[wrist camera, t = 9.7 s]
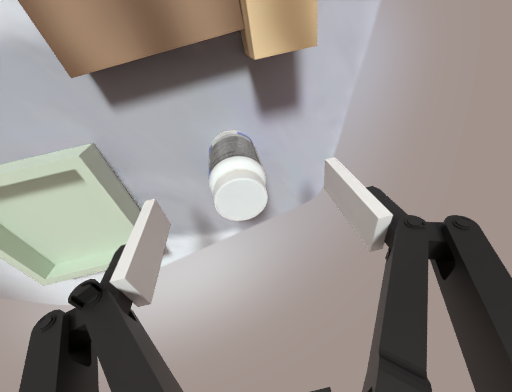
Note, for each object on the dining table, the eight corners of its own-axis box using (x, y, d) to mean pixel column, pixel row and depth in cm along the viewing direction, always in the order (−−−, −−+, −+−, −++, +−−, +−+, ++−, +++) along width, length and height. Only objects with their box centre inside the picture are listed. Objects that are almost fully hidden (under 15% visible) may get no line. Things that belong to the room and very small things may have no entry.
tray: (56, 267, 27) (43, 285, 25) (-63, 179, 19) (-97, 196, 17) (161, 241, 28) (157, 257, 26) (92, 142, 19) (78, 155, 17)
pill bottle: (199, 145, 21) (193, 196, 14) (239, 119, 20) (252, 160, 13) (226, 178, 24) (232, 233, 17) (262, 157, 23) (283, 206, 16)
